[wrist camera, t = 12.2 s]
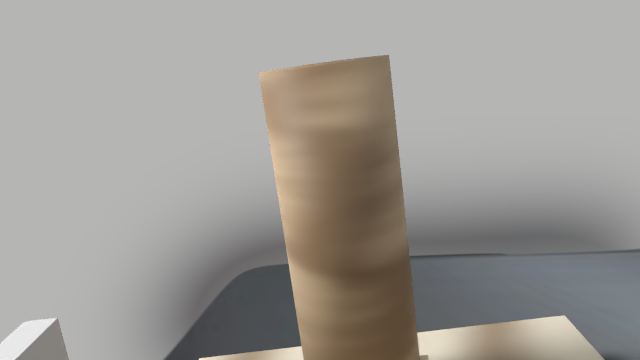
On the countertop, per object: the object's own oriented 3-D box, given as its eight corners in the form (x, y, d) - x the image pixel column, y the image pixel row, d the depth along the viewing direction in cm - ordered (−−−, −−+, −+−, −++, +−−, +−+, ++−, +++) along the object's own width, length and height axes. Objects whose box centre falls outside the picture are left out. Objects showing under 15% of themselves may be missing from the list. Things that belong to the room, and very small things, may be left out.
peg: (421, 413, 25) (383, 54, 21) (443, 496, 20) (400, 55, 16) (318, 425, 25) (263, 70, 21) (317, 509, 20) (247, 76, 17)
